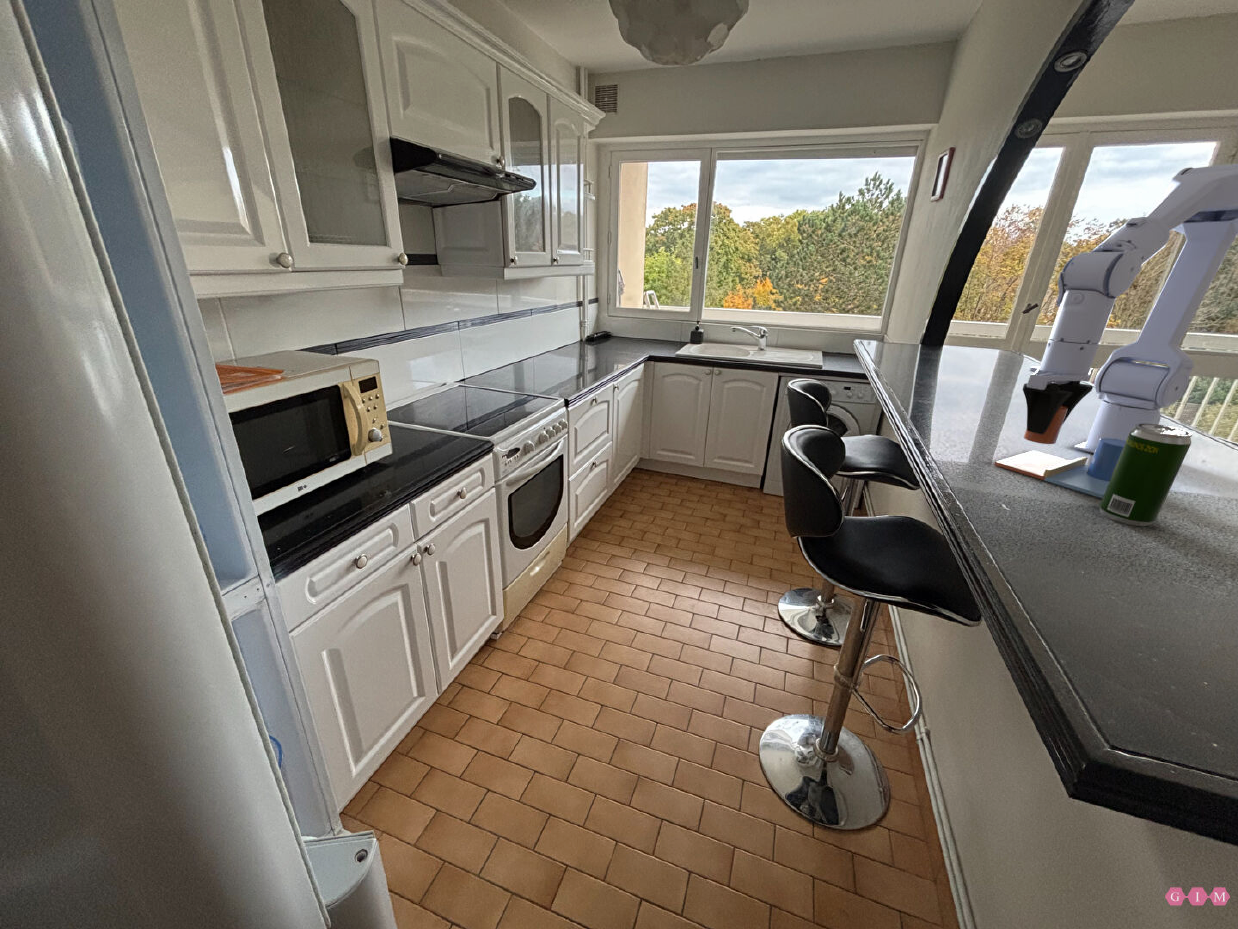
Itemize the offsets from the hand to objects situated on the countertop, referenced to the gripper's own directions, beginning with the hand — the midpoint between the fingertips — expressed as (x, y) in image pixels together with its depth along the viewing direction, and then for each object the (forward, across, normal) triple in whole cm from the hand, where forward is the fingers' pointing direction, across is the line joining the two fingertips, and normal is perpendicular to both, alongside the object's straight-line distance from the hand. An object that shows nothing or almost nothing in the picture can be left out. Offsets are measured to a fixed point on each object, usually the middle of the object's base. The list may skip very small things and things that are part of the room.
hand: (1042, 430), depth 78 cm
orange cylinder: (+2, 0, 0) cm, 2 cm away
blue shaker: (+6, -5, +8) cm, 11 cm away
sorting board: (+6, -2, +4) cm, 8 cm away
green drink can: (+7, +8, +14) cm, 18 cm away
